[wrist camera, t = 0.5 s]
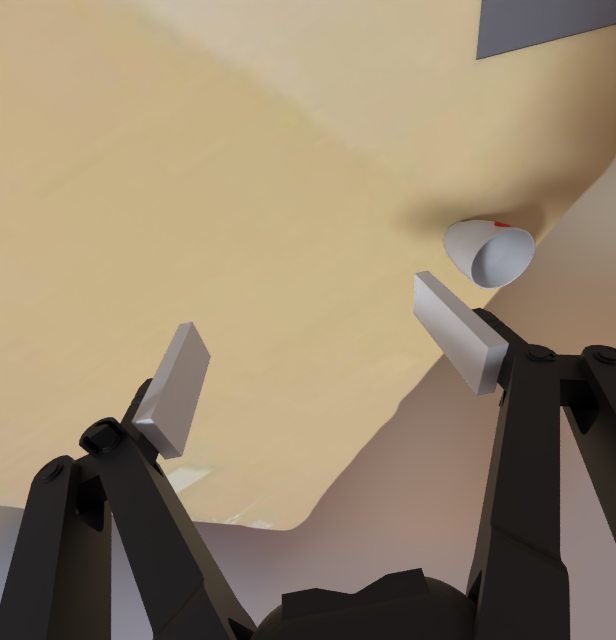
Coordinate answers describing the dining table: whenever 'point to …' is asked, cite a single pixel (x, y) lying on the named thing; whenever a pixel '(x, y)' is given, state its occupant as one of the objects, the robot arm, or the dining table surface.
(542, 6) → the mat
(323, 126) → the dining table surface
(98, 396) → the dining table surface
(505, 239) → the cup
